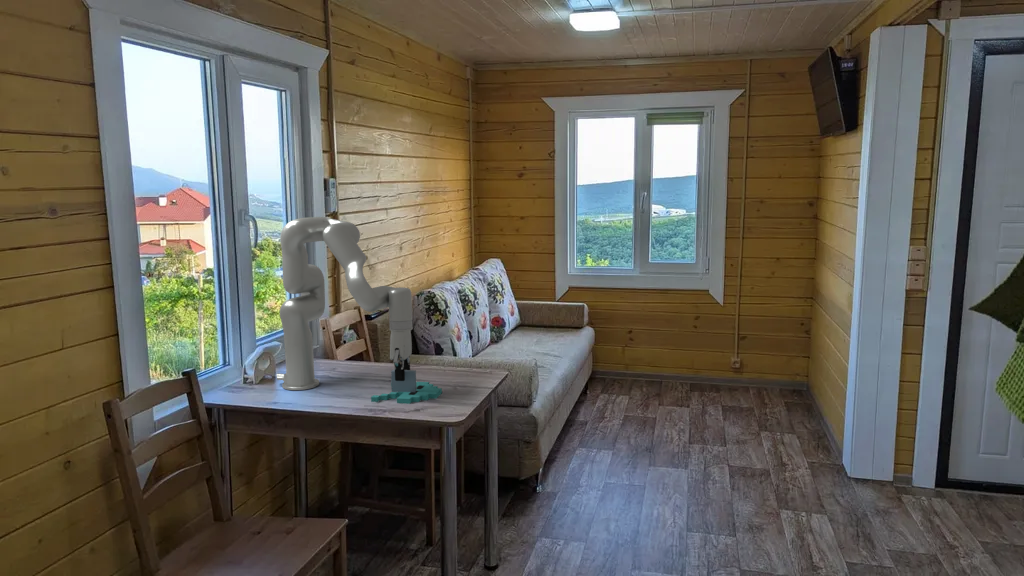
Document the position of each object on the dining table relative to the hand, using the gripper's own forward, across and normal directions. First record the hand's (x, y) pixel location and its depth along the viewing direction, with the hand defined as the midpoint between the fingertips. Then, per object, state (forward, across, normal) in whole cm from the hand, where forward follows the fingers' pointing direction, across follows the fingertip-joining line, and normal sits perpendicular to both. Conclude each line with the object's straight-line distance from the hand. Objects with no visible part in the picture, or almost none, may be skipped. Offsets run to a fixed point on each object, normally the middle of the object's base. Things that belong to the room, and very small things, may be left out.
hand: (402, 377), depth 233 cm
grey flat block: (+1, 0, +4) cm, 4 cm away
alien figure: (+7, -2, +2) cm, 8 cm away
